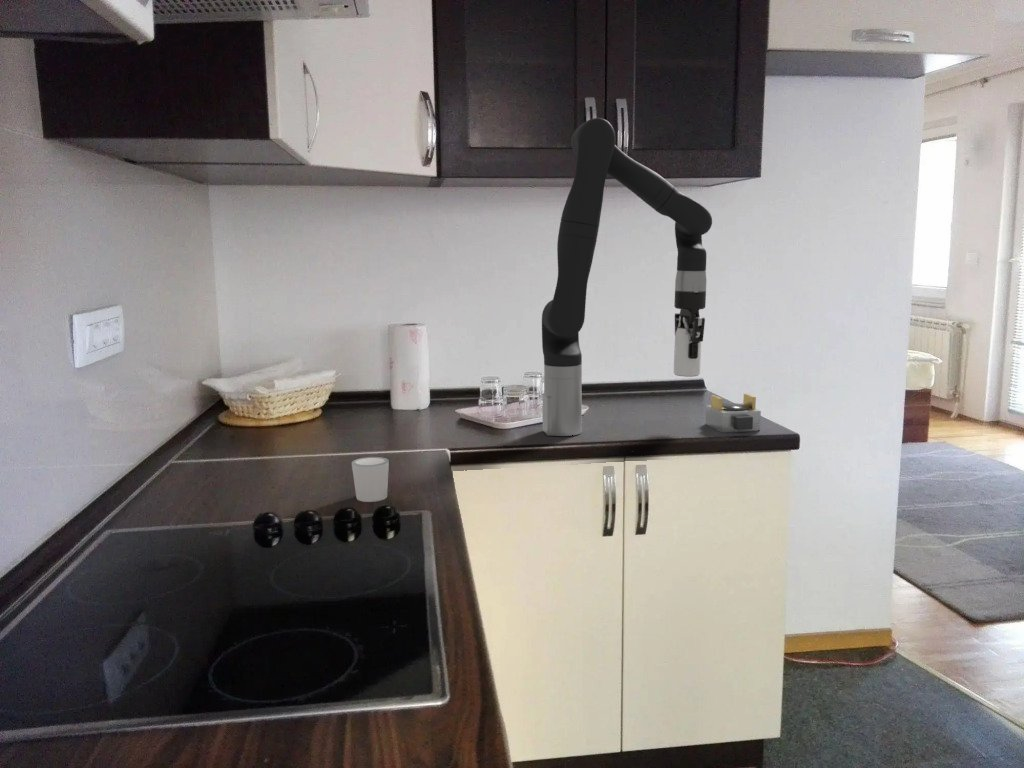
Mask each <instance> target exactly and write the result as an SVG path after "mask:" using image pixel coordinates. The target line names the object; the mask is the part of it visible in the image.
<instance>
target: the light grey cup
mask: <svg viewBox="0 0 1024 768" xmlns="http://www.w3.org/2000/svg"><path fill="white" fill-rule="evenodd" d="M389 463H390V460H389V459H388V458H386V457H381V456H368V457H360V458H357V459H354V460H352V461H351V470H352V476H353V482H354V483H353V484H354V490H355V497H356V499H357V501H360V502H365V503H372V502H381V501H383V500H385V499H387V497H388V483H389V467H390V465H389Z"/></svg>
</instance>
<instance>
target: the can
mask: <svg viewBox="0 0 1024 768" xmlns="http://www.w3.org/2000/svg"><path fill="white" fill-rule="evenodd" d="M677 328H678V329H677V331H676V333H675V332H674V354H673V355H674V357H673V374H674V375H675V376H677V377H686V378H689V377H691V378H692V377H698V376H699V375H700V374H701V360H702V358H701V357H702V342H700V343H698V357H697V358H696V359H690V358H688V347H689V339H688V335H687V334H686V332H685V328H679V327H677ZM689 330H693V328H689ZM699 337H700V333H699Z"/></svg>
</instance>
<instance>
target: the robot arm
mask: <svg viewBox="0 0 1024 768" xmlns="http://www.w3.org/2000/svg"><path fill="white" fill-rule="evenodd" d="M616 140H617V139H616V131H615V129H614V127H613V125H612V124H611V123H610V122H609V121H608V120H606V119H604V118H602V117H595V118H590V119H589V120H586V121H585V122H583V123H581V124H580V125H579V126H578V127H576V129H575V130H574V131H573V134H572V136H571V149H572V152H573V153H574V154H575V156H576V165H575V172H574V178H573V180H572V185H571V187H570V189H569V193H568V195H567V198H566V200H565V204H564V206H563V210H562V212H561V213H562V214H561V217H560V223H559V229H558V235H557V242H556V243H557V247H556V248H557V249H556V250H557V251H556V252H557V255H556V256H557V281H556V286H555V291H554V294H553V298H552V300H551V299H550V301H548V302H547V303H546V304H545V306H544V307H543V310H542V314H541V342H542V343H541V344H542V346H541V347H542V355H543V364H544V365H543V369H544V371H543V373H544V374H543V375H544V376H543V377H544V380H543V382H544V387H543V389H544V392H543V393H542V394H541V395H542V403H541V404H542V406H541V407H542V408H541V409H542V431H543V432H544V434H545V435H546V436H553V437H554V436H555V437H570V436H572V435H573V436H578V435H580V434H582V431H583V428H582V425H583V423H582V416H583V415H582V412H583V410H582V406H583V405H582V401H583V399H582V393H583V392H582V388H583V387H582V386H583V384H582V383H583V380H582V379H583V378H582V376H583V375H582V373H583V372H582V370H583V369H582V367H583V365H582V364H583V363H582V362H583V361H582V358H583V357H582V351H581V347H580V339H579V338H580V336H579V335H580V334H579V332H580V331H581V330H582V328H583V325H584V324H585V319H586V318H585V316H586V305H587V304H586V303H587V302H586V300H587V289H588V282H589V277H590V272H591V269H592V264H593V260H594V255H595V249H596V245H597V241H598V240H597V239H598V235H599V234H598V233H599V228H600V223H601V214H602V207H603V202H604V190H605V183H606V179H607V175H609V176H610V177H612V178H613V179H614V180H616V181H617V182H619V183H620V184H622V185H623V186H624V187H625V188H627V189H628V190H629V191H630V192H632V193H633V194H635V196H637V197H638V198H639V199H641V200H642V202H645V204H647V205H648V206H650V208H652V209H653V210H654V211H656V213H658V214H660V215H662V216H664V217H668V218H670V219H671V220H673V221H674V236H675V242H676V249H677V258H676V259H677V263H676V274H675V281H674V282H675V283H674V284H675V285H674V306H673V307H674V308H675V309H679V310H680V312H678V313H674V334H675V333H676V331H677V329H678V328H677V327H679V328H685V332H686V334H687V335H688V339H689V347H688V358H690V359H696V358H697V357H698V343H700V342H701V343H702V342H703V341H704V334H705V322H706V318H705V317H703V316H702V317H700V310H703V309H706V303H707V302H706V300H707V299H706V297H707V272H706V271H707V251H706V248H704V246H703V239H702V235H705V234H707V233H708V232H709V231H710V229H711V228H712V225H713V219H712V218H713V217H712V215H711V212H710V211H709V210H708V209H707V208H706V207H705V206H704V205H702V204H701V203H699V202H698V201H696V199H693V198H691V197H690V196H688V195H686V194H684V193H682V192H681V191H680V190H678V188H676V187H675V186H674V185H673V184H671V183H670V182H669V181H668V180H666V179H665V178H664V177H663V176H661V175H660V174H659V173H657V172H656V171H654V170H652V169H651V168H649V167H647V166H645V165H643V164H642V163H640V162H638V161H636V160H635V159H633V158H632V157H630V156H628V154H626V153H625V152H624V151H622V150H621V149H620V148H619V147H618V146H617V145H616ZM689 328H693V330H689ZM699 333H700V337H699Z"/></svg>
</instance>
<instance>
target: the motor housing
mask: <svg viewBox="0 0 1024 768" xmlns="http://www.w3.org/2000/svg"><path fill="white" fill-rule="evenodd" d="M756 398H757V397H756V396H754V395H752V394H748V393H743V403H737V402H736V403H734V402H726V403H725V402H724V403H723V401H724V400H723V397H720V396H717V395H715V394H710V404H706V405H705V425H706V426H709V427H710V428H712V429H714V430H716V431H718V432H720V433H741V432H758V430H760V431H761V413H762V411H761V410H760V409H757V408H756V400H757V399H756Z"/></svg>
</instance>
